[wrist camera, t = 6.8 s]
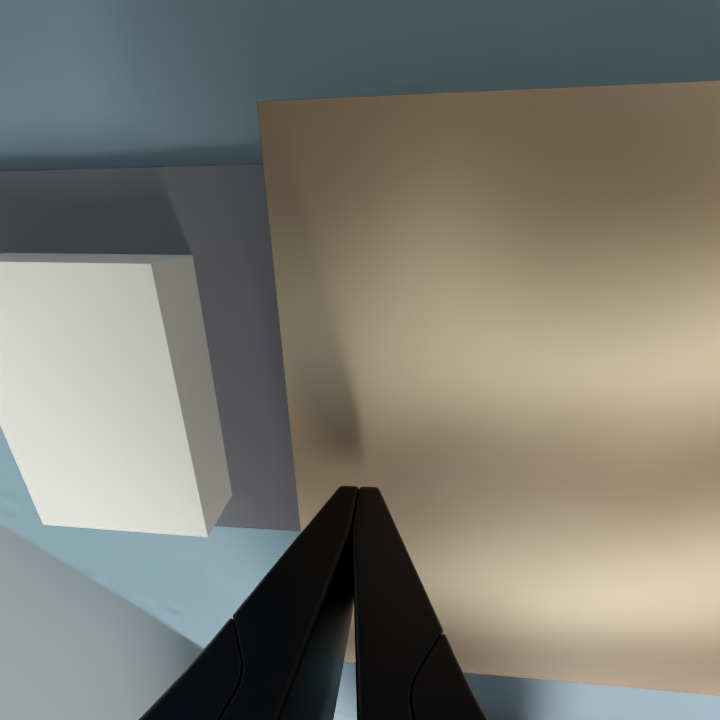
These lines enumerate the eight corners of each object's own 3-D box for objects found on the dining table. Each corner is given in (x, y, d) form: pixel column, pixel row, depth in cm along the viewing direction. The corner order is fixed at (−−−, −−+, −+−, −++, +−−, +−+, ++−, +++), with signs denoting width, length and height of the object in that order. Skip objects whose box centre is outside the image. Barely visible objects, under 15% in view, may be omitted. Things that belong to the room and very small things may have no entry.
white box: (43, 524, 13) (87, 485, 15) (207, 537, 12) (232, 494, 14) (-71, 260, 9) (5, 252, 11) (150, 264, 9) (192, 254, 11)
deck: (688, 574, 14) (793, 702, 10) (333, 551, 15) (313, 659, 12) (896, 123, 9) (1277, 55, 5) (308, 143, 10) (256, 101, 6)
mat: (331, 524, 15) (330, 532, 14) (101, 511, 16) (94, 518, 15) (310, 164, 10) (307, 162, 10) (-22, 173, 11) (-37, 172, 10)
